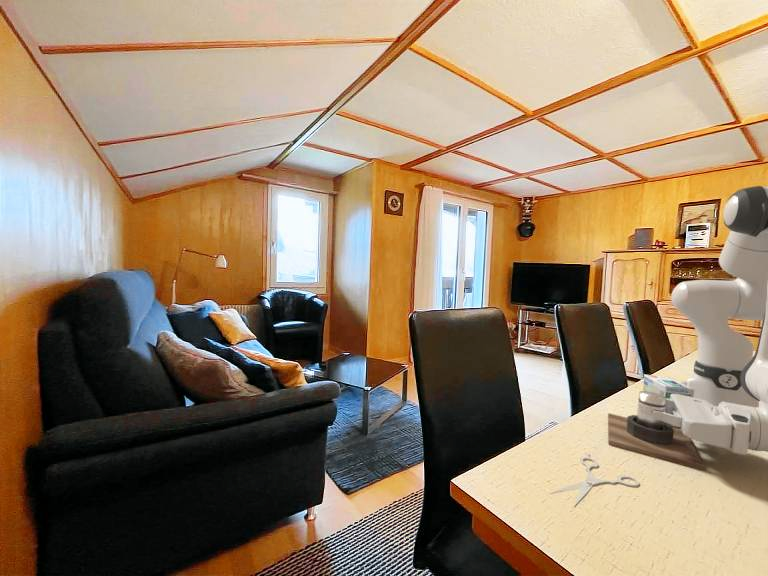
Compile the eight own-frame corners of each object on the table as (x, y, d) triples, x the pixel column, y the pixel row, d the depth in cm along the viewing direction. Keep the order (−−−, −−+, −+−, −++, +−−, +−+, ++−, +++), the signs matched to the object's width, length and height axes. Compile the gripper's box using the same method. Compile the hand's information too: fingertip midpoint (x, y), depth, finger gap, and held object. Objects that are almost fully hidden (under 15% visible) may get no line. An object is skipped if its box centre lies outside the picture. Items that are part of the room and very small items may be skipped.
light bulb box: (692, 429, 85) (696, 388, 84) (662, 426, 86) (666, 386, 86) (665, 412, 95) (669, 375, 95) (639, 409, 97) (642, 373, 96)
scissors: (644, 479, 63) (594, 518, 52) (644, 482, 63) (593, 523, 52) (586, 452, 72) (532, 481, 61) (586, 455, 72) (532, 485, 61)
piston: (634, 427, 82) (637, 389, 82) (660, 434, 80) (664, 394, 79) (636, 436, 78) (640, 395, 77) (664, 443, 75) (668, 400, 75)
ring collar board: (608, 416, 91) (609, 402, 90) (685, 434, 82) (686, 419, 82) (608, 444, 76) (609, 427, 76) (702, 470, 67) (704, 451, 67)
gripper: (720, 395, 79) (647, 382, 87) (750, 427, 62) (656, 408, 70) (717, 420, 79) (645, 405, 87) (747, 459, 63) (654, 436, 70)
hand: (650, 406), depth 78 cm, fingers open, 8 cm apart
